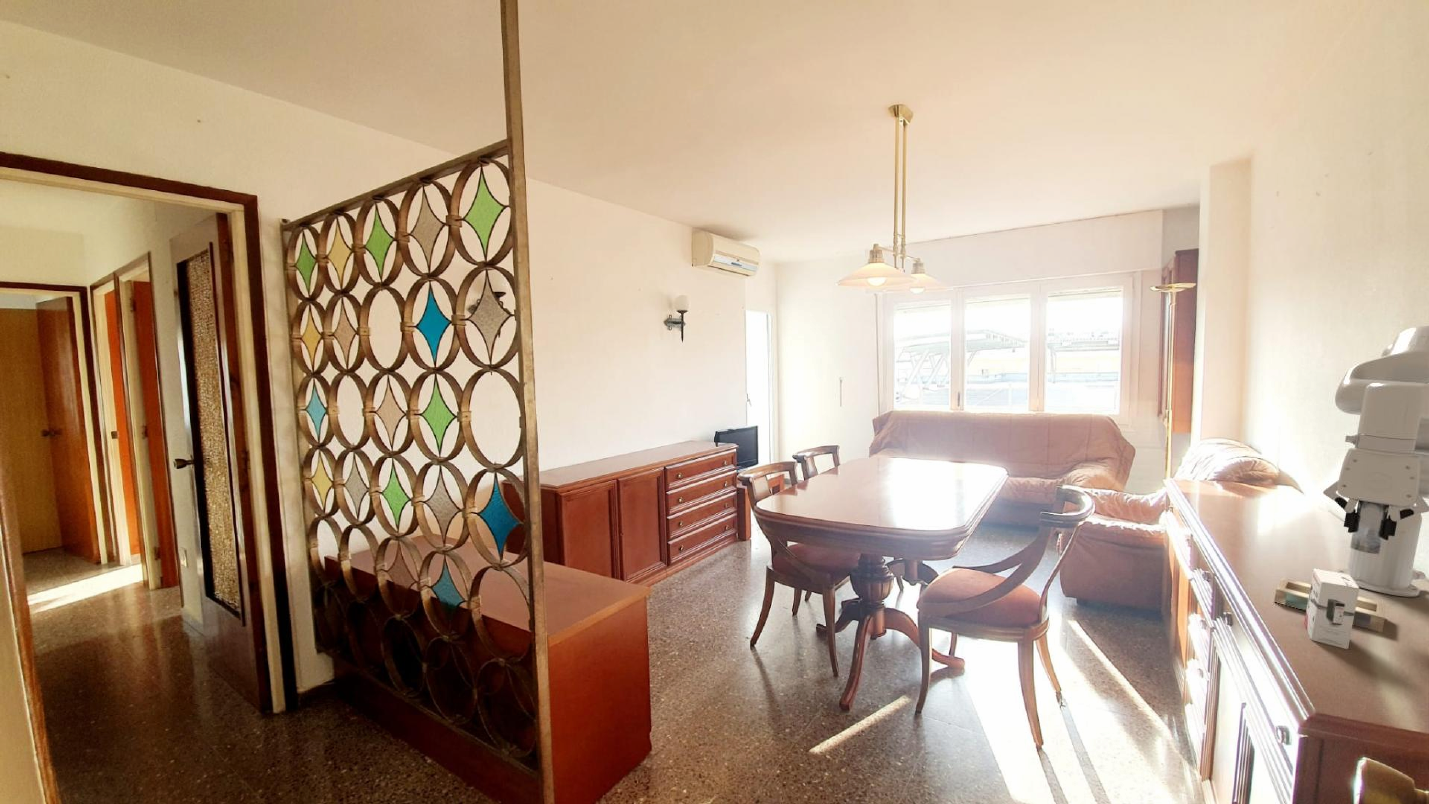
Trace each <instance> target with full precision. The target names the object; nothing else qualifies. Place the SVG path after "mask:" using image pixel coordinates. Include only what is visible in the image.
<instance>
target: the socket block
mask: <svg viewBox="0 0 1429 804" xmlns="http://www.w3.org/2000/svg"><path fill="white" fill-rule="evenodd" d="M1310 588H1311V583H1306V582H1301V581H1300V580H1299V581H1298V580H1294V579H1290V578H1287V577H1282V578H1281V579H1280V581H1279V583H1278V585H1277V587H1276V589H1275V594H1274V598H1273V599H1274V601H1273V603H1274V602H1277V603H1276V604H1278V603H1284V604H1285V605H1287V606H1286V607H1289V606H1293V607H1295V608H1294V609H1296V608H1298V609H1297V610H1299V609H1303V610H1307V605H1308V599H1309V593H1310ZM1285 605H1284V606H1285ZM1386 607H1387V603H1385V602H1382V601H1377V600H1374V599H1371V598H1370V599H1369V598H1365V597H1362V596H1358V599H1357V604H1356V609H1355V614H1354V619H1353V624H1352V626H1357V627H1361V628H1363V629H1368V630H1372V631H1375V632H1378V633H1383V630H1384V624H1385V620H1386ZM1303 610H1302V611H1303Z"/></svg>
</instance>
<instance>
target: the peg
mask: <svg viewBox="0 0 1429 804" xmlns="http://www.w3.org/2000/svg"><path fill="white" fill-rule="evenodd" d="M1356 506H1357V507H1356V520H1355V525H1354V531H1353V533H1351V534H1352V535H1351V541H1350V546H1349V547H1350V549H1351V548H1352V549H1355V550H1358V551H1362V552H1366V553H1372V554H1380V552H1381V546H1382V541H1383V534H1384V528H1385V523H1386V520H1387V515H1388V509H1389V505H1384V504H1378V503H1372V502H1366V501H1360V500H1358V502H1357V505H1356Z"/></svg>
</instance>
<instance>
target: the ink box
mask: <svg viewBox="0 0 1429 804" xmlns="http://www.w3.org/2000/svg"><path fill="white" fill-rule="evenodd" d="M1310 582H1311V583H1310V584H1311V588H1310V593H1309V599H1308V605H1307V610H1306V611H1305V615H1304V621H1303V624H1304V626H1305V629H1306V632H1307V633H1308V635H1309V638H1310V639H1311V641H1315V642H1319V643H1321V644H1326V645H1330V646H1333V647H1337V648H1341V649H1345V650H1348V649H1349V647H1350V646H1349V644H1350V640H1351V634H1352V629H1353V619H1354V614H1355V609H1356V604H1357V599H1358V597H1359V594H1360V593H1359V592H1360V587H1358V585H1357V584H1356V583H1355V581H1354V580H1353V579H1352V577H1351V576H1350V575H1348V574H1343V573H1337V571H1331V570H1324V569H1320V568H1315V567H1314V568H1313V570H1312V576H1311V581H1310Z"/></svg>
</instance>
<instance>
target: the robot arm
mask: <svg viewBox="0 0 1429 804" xmlns="http://www.w3.org/2000/svg"><path fill="white" fill-rule="evenodd" d="M1340 381H1341V382H1340V383H1339V385H1338V386H1337V389H1336V393H1335V395H1334V396H1335V397H1334V401H1335V406H1336V407H1337V408H1338V410H1339V411H1341V412H1343V413H1345V414H1349V415H1357V416H1358V415H1359V417H1360V418H1359V423H1358V427H1357V434H1354V435H1345V440H1344V442H1345V443H1349V444H1353V446H1354V447H1350V448H1348V450H1347V452H1346V454H1345V456H1344V459H1343V462H1342V466H1341V469H1340V472H1339V478H1338V480H1337V481H1335V482H1334V483H1333V484H1331V485H1330V486H1328V487H1327V488H1326V489H1324V490H1323V492H1322V493H1323V495H1324V496H1326V498H1327V497H1328V498H1329V499H1331V500H1333V501H1334V502H1335V503H1336V504H1337V505H1338V506H1339V507H1340V508H1341V509H1342V510H1344V512H1345V515H1344V516H1345V517H1344V523H1343V527H1344V528H1347V529H1348V530H1347V533H1349V534H1353V531H1354V525H1355V520H1356V512H1357V508H1356V506H1357V505H1358V501H1359V500H1360V501H1366V502H1372V503H1378V504H1384V505H1389V509H1388V515H1387V520H1386V523H1385V528H1384V534H1383V541H1382V546H1381V552H1380V554H1372V553H1366V552H1362V551H1358V550H1355V549H1352V548H1350V550H1349V556H1348V562H1347V567H1346V568H1340V569H1337V570H1336V572H1337V573H1343V574H1348V575H1350V576H1351V577H1352V579H1353V580H1354V581H1355V583H1356V584H1357V585H1358V587H1359V588H1362V589H1365V590H1368V591H1372V592H1378V593H1381V594H1384V595H1385V594H1386V595H1389V596H1391V595H1392V596H1396V597H1408V598H1410V597H1418V596H1420V591H1421V590H1420V589H1419V588H1418V587H1417V586H1416V585H1413V584H1412V583H1413V582H1412V581H1413V580H1424V579H1426V574H1425V573H1424V572H1423V571H1421V570H1413V569H1414V568H1413V567H1414V563H1415V557H1416V552H1417V548H1418V542H1419V537H1420V533H1421V527H1422V523H1423V517H1422V514H1423V513H1428V512H1429V504H1428V503H1427V502H1426V500H1425V499H1429V325H1421V326H1420V325H1419V326H1414V327H1410V328H1408V329H1405V330H1403V331H1401V332H1400V333H1398V335H1397V336H1396V337H1395V338H1394V340H1393V343H1392V344H1391V345H1389V346H1386V347H1385V349H1384V350H1383V351H1382V353H1381V357H1379V358H1374V359H1372V360H1369V361H1368V360H1367V361H1365V362H1362V363H1359V364H1356V365H1355V366H1353V367H1351V368H1350V369H1349V370H1348V371H1347V372H1346V373H1345V374H1344V375H1343V377H1342V379H1341V380H1340ZM1346 499H1348V501H1347V500H1346Z"/></svg>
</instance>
